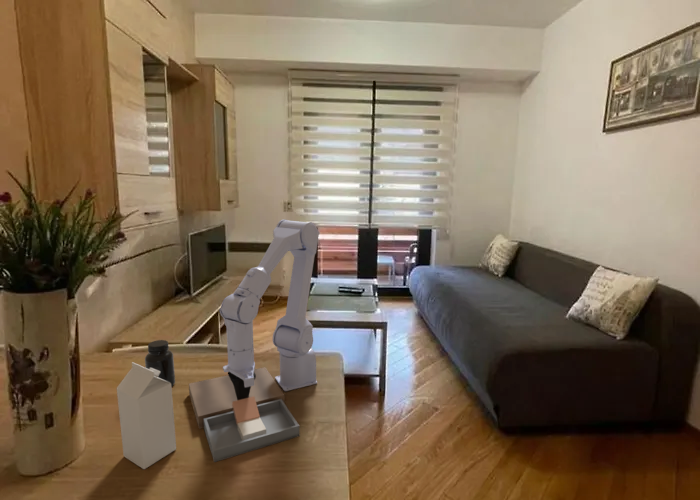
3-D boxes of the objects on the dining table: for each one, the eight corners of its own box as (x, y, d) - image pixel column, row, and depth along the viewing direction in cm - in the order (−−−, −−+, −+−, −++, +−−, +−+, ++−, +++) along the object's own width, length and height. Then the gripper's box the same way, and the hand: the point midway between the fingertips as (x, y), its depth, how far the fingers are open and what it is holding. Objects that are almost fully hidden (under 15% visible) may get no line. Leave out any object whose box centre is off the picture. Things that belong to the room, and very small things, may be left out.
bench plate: (265, 377, 115) (265, 367, 115) (284, 405, 102) (284, 394, 101) (189, 394, 106) (188, 383, 106) (199, 428, 92) (198, 416, 92)
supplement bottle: (180, 383, 111) (177, 341, 109) (157, 395, 106) (153, 351, 103) (165, 376, 115) (162, 336, 113) (141, 387, 109) (137, 344, 107)
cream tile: (266, 429, 89) (266, 435, 89) (259, 416, 93) (259, 422, 94) (242, 435, 87) (243, 442, 87) (237, 423, 91) (237, 429, 91)
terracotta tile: (253, 399, 97) (254, 396, 96) (258, 419, 94) (259, 416, 93) (232, 404, 95) (232, 401, 94) (236, 425, 92) (237, 422, 91)
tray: (281, 408, 101) (281, 398, 100) (299, 436, 90) (299, 425, 90) (204, 428, 92) (203, 418, 92) (214, 462, 82) (213, 451, 81)
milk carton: (144, 470, 79) (135, 379, 76) (123, 456, 83) (114, 369, 80) (176, 449, 85) (170, 364, 82) (155, 437, 89) (148, 355, 85)
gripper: (216, 338, 99) (219, 390, 101) (229, 363, 86) (232, 422, 89) (245, 332, 102) (247, 383, 104) (262, 356, 89) (264, 413, 92)
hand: (242, 400), depth 97 cm, fingers closed
